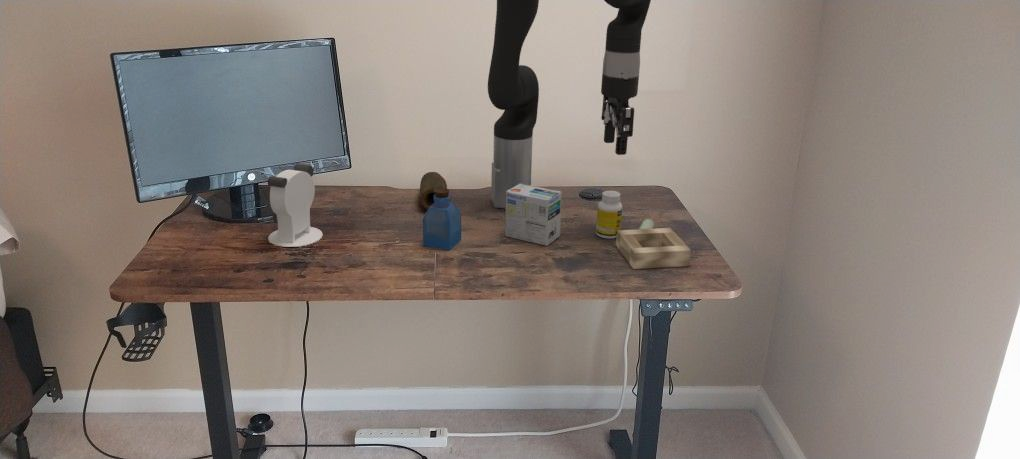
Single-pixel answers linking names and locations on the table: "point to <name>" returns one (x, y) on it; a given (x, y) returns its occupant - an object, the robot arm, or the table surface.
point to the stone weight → (430, 187)
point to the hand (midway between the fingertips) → (614, 148)
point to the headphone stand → (293, 207)
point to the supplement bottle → (609, 215)
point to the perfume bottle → (442, 222)
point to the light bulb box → (533, 214)
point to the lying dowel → (647, 224)
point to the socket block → (653, 248)
